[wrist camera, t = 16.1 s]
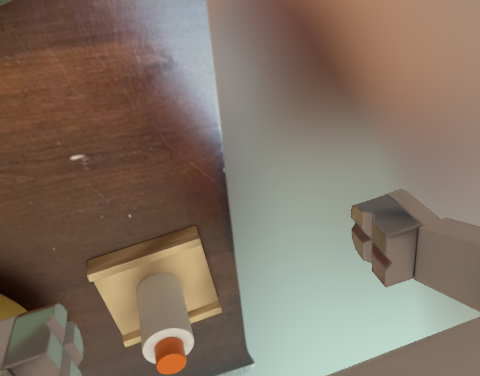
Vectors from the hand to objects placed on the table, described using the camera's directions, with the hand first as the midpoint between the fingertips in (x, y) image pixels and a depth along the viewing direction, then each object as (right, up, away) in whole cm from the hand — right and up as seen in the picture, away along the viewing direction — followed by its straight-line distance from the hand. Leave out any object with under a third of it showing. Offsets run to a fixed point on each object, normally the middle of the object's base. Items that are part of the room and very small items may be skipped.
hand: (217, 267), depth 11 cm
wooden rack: (-9, -9, +35) cm, 38 cm away
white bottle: (-9, -9, +34) cm, 37 cm away
